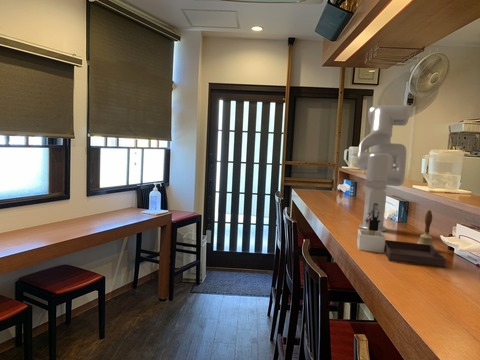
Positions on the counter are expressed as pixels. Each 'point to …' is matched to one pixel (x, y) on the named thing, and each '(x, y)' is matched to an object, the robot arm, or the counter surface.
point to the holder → (371, 241)
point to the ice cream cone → (370, 232)
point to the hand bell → (427, 231)
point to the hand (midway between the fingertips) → (371, 227)
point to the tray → (413, 253)
